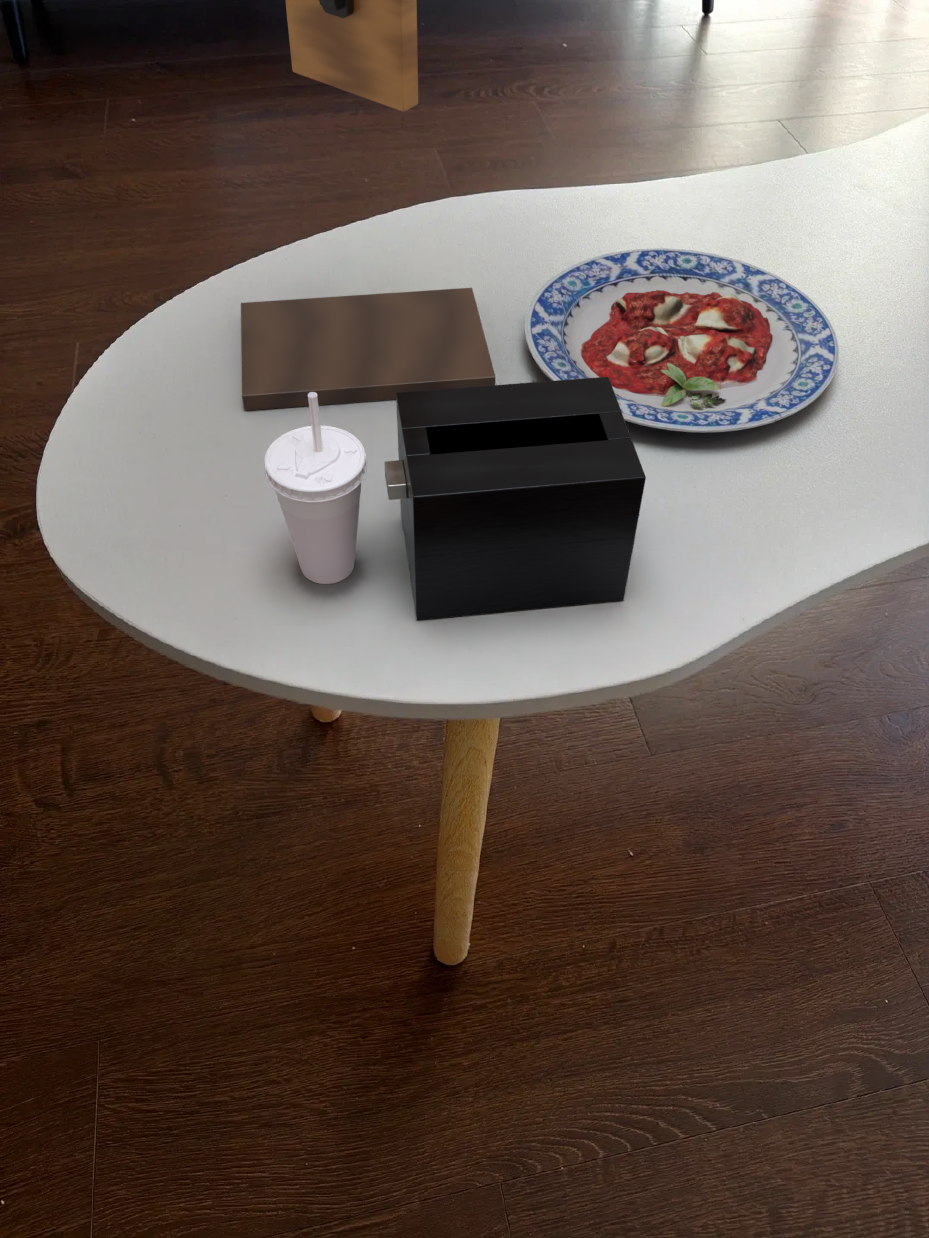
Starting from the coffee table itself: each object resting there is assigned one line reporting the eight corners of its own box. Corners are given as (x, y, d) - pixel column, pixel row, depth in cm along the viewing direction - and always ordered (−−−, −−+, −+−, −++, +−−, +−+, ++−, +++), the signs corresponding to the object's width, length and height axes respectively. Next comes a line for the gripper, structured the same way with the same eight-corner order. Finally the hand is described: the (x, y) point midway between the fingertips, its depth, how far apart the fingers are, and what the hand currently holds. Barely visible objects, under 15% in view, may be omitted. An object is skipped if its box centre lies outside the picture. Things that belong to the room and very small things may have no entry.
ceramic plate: (559, 251, 103) (562, 221, 100) (840, 295, 98) (849, 266, 96) (488, 417, 86) (489, 386, 84) (821, 480, 82) (832, 449, 80)
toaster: (398, 622, 72) (392, 499, 64) (384, 518, 79) (377, 393, 70) (623, 600, 74) (646, 477, 65) (591, 500, 80) (608, 376, 72)
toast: (292, 72, 76) (275, -92, 69) (307, 65, 77) (293, -99, 70) (403, 112, 72) (399, -57, 65) (418, 104, 73) (415, -64, 66)
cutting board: (244, 411, 86) (241, 396, 85) (243, 317, 95) (240, 302, 94) (494, 392, 88) (495, 377, 87) (471, 302, 97) (472, 287, 96)
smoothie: (388, 544, 77) (379, 380, 66) (352, 609, 73) (336, 445, 62) (304, 523, 78) (282, 358, 68) (264, 585, 74) (234, 420, 64)
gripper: (358, -367, 63) (373, -34, 76) (183, -336, 56) (232, 27, 69) (462, -352, 60) (459, -8, 73) (291, -317, 53) (321, 58, 66)
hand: (349, 8), depth 71 cm, fingers closed on toast
